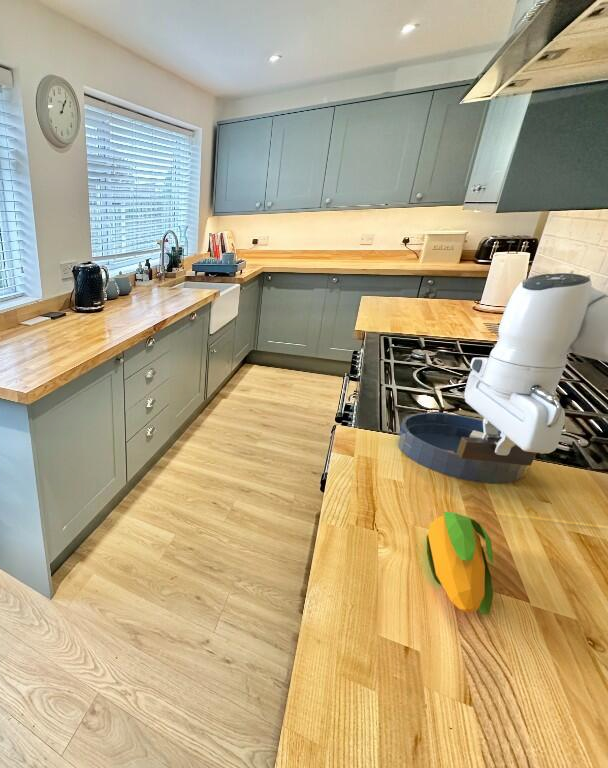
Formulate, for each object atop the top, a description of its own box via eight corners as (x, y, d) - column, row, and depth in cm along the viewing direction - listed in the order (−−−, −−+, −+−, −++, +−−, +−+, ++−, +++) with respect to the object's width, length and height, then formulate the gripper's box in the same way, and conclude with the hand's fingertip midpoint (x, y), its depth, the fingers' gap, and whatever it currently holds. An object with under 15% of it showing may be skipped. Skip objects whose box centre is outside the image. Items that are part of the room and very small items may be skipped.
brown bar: (523, 459, 74) (530, 442, 73) (530, 465, 72) (538, 448, 71) (456, 452, 77) (461, 436, 75) (461, 458, 75) (466, 441, 74)
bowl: (489, 437, 97) (496, 416, 95) (551, 492, 78) (561, 467, 76) (384, 429, 103) (388, 409, 101) (417, 477, 85) (424, 454, 82)
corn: (489, 505, 65) (519, 599, 49) (479, 544, 67) (505, 646, 52) (429, 493, 69) (439, 577, 53) (422, 531, 71) (429, 621, 56)
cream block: (486, 446, 93) (490, 434, 92) (483, 451, 91) (488, 439, 90) (469, 441, 95) (473, 430, 94) (466, 446, 93) (470, 434, 92)
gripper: (592, 403, 58) (556, 484, 64) (508, 357, 76) (485, 424, 82) (536, 399, 60) (505, 479, 65) (467, 355, 78) (447, 421, 83)
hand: (494, 448), depth 74 cm, fingers closed on brown bar, 2 cm apart
